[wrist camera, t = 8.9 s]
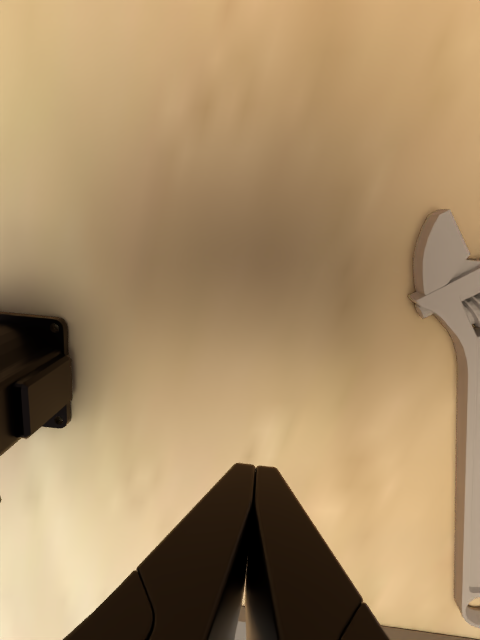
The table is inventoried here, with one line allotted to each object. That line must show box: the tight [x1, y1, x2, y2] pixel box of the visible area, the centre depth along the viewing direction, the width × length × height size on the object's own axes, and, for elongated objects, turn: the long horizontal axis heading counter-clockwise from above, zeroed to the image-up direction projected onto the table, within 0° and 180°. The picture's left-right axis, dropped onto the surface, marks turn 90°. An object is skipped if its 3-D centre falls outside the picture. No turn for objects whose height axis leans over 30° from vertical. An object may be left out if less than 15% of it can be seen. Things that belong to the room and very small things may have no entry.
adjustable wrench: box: [408, 209, 480, 628], centre depth 21 cm, size 25×6×2 cm, turn 3°
